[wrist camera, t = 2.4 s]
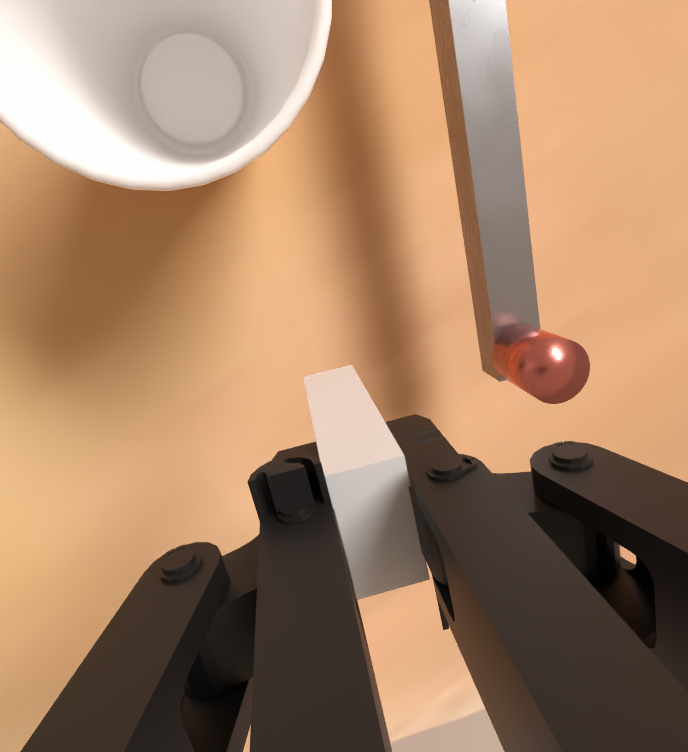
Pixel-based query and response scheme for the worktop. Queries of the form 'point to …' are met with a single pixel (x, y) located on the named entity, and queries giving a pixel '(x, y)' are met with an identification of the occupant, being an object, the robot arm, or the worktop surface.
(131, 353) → the worktop surface
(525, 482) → the robot arm
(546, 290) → the worktop surface
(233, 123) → the cup
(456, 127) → the lever
